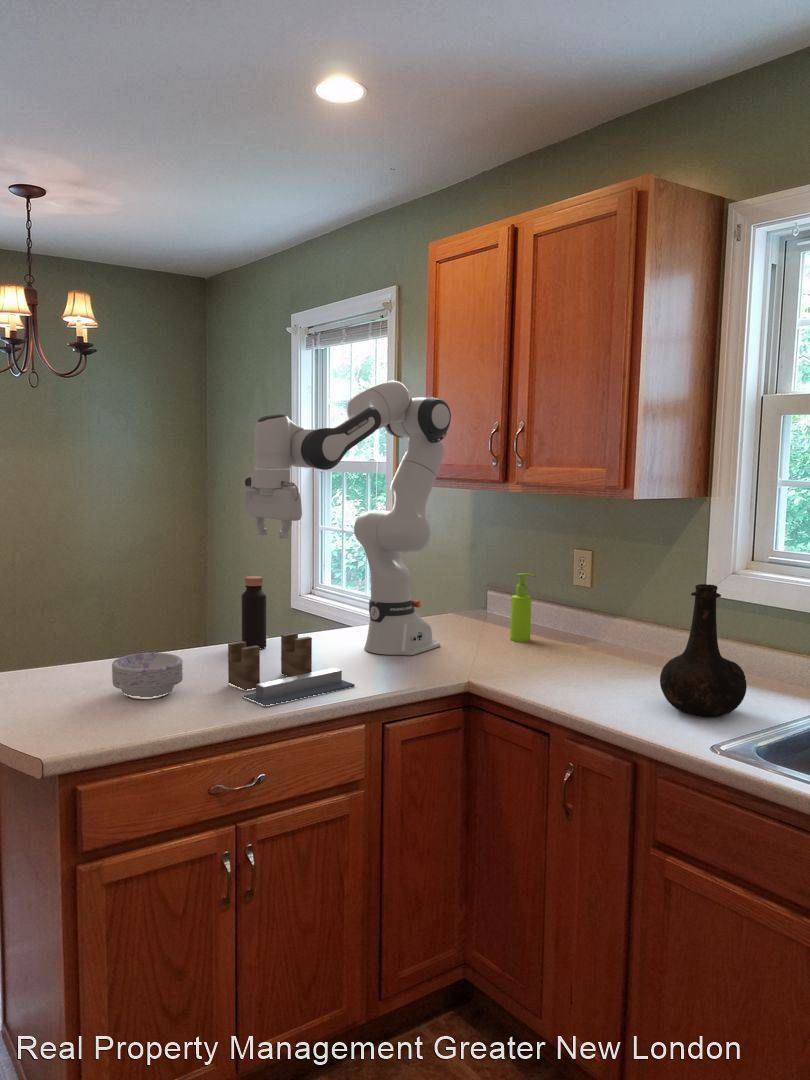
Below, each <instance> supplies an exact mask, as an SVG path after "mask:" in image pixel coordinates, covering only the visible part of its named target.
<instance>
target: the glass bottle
mask: <svg viewBox="0 0 810 1080" xmlns="http://www.w3.org/2000/svg"><path fill="white" fill-rule="evenodd" d="M694 586H695V591H693V592H691V593H690V596H692V597H694V606H693V613H692V620H691V625H690V631H689V637H688V640H687V644H686V646H685V649H684V650H683V652H682V653H681V654H679V655H677V656H675V657H673V658H671V659H669V661H667V662H666V663H665V665H663V667H662V669H661V672H660V677H659V685H660V689H661V692H662V693H663V696H664V698H665V699H666V701H667V702H668V703H669V704H670V705H671V706H672V707H673V708H675V709H676V710H677V711H678V712H679V711H680V713H683V714H686V715H689V716H691V717H699V718H706V719H707V718H708V719H709V718H710V719H711V718H720V717H725V716H726V715H729V714H730V713H733V712H734V711H735V710H736V709H737V708H738V707H739V706H740V705H741V704H742V703H743V700H744V699H745V696H746V693H747V679H746V675H745V671H744V670H743V669H742V667H741V666H740V665H739V664H737V663H736V662H734V661H732V660H729V659H727V658H724V657H723V656H722V654H721V652H720V649H719V643H718V630H717V629H718V628H717V627H718V626H717V598H721V597H722V594H720V593H718V591H717V590H718V588H719V587H718V585H715V584H705V583H703V584H701V583H700V584H697V585H694Z"/></svg>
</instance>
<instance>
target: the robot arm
mask: <svg viewBox="0 0 810 1080" xmlns="http://www.w3.org/2000/svg"><path fill="white" fill-rule="evenodd" d="M451 413H452V412H451V409H450V407H449V404H448V403H447V402H446V401H445V400H443V399H440V398H438V397H432V396H431V397H429V396H428V397H413V398H411V396H410V392H409V390H408V388H407V387H406V386H405V385H404V384H403V383H402V382H400V381H399V380H398V381H397V380H388V381H385V382H381V383H378V384H375V385H373V386H371V387H368V388H366V389H364V390H362V391H361V392H359V393H357V394H356V395H355V396H353V397H352V398H351V399H350V400H349V401H348V402H347V406H346V418H347V420H345V421H343V422H342V423H340V424H339V425H337V426H335V427H325V428H324V427H321V428H307V429H306V428H304V427H301V426H300V425H297V424H296V423H295V422H293V421H292V420H291V419H290V418H289V416H288V415H287V414H272V415H271V414H270V415H266V416H262V417H260V418H259V419H258V420H257V422H256V424H255V430H254V441H253V442H254V446H253V447H254V451H253V452H254V454H255V463H254V472H253V473H252V474H250V475H249V476H247V477H245V478H243V484H242V485H243V487H244V488H245V489H244V493H243V498H244V499H243V504H244V505H243V506H244V509H243V510H244V513H245V514H246V517H254V523H255V526H256V528H257V535H258V536H266V535H267V531H268V528H267V527H265V519H269V520H270V519H271V520H272V519H273V520H280V521H281V522H280V525H282V526H281V529H280V530H279V531H278V538H279V539H289V531H290V530H291V527H292V522H293V521H294V522H295V521H296V522H297V521H300V520H301V519H302V516H303V511H302V510H303V508H302V507H303V506H302V498H301V494H300V491H299V487H298V486H297V485H296V483H295V482H293V481H291V479H292V477H291V475H292V473H291V468H292V467H295V468H306V469H317V470H323V471H326V470H327V471H328V470H332V469H333V468H335V467H336V466H337V465H338V464H339V463H340V462H341V460H343V457H344V456H345V455H346V454H347V452H349V451H350V450H351V449H352V448H354V447H355V446H357V445H358V444H359V443H361V442H362V441H364V440H366V439H367V438H368V437H370V436H371V435H372V434H374V433H375V432H377V431H379V430H381V429H383V428H384V429H385V431H386V432H387V434H389V435H390V436H393V437H394V438H395V437H396V438H400V439H401V438H407V439H408V442H407V443H408V444H407V449H406V451H405V453H404V455H403V457H402V459H401V461H400V463H399V466H398V467H397V469H396V472H395V474H394V477H393V478H392V480H391V483H390V492H391V493H392V495H393V497H394V501H393V506H392V509H391V510H381V509H375V510H374V509H373V510H370V511H365V512H363V513H361V514H360V515H359V516H358V517H357V518H356V520H355V522H354V525H353V527H354V528H353V532H354V536H355V538H356V540H357V541H358V543H360V545H361V546H362V549H363V551H364V553H365V556H366V559H367V564H368V567H369V571H370V572H369V573H370V598H369V602H368V613H369V622H368V630H367V631H368V632H367V637H366V641H365V644H364V648H363V649H364V651H366V652H369V653H373V654H379V655H388V656H389V655H395V656H397V655H398V656H399V655H401V656H414V655H417V654H421V653H423V652H427V651H431V650H432V649H436V648H439V647H441V642H440V641H438V640H436V639H435V638H434V639H433V632H432V627H431V625H430V624H429V623H428V622H427V621H426V620H424V619H423V618H422V617H421V616H420V615H419V614H418V613H417V612H416V610H415V608H417V609H418V608H421V606H422V602H421V600H417V599H414V600H412V599H411V573H410V569H408V567H407V566H406V565H405V564H404V562H403V559H402V558H401V555H400V553H404V554H407V553H408V554H409V553H415V552H420V551H422V550H424V549H425V548H427V546H428V544H429V542H430V538H431V527H430V524H429V522H428V521H427V517H426V509H427V508H426V506H427V502H428V499H429V496H430V495H431V492H432V489H433V487H434V484H435V482H436V479H437V476H438V475H439V473H440V468H441V466H442V463H443V459H444V455H445V454H444V453H445V445H444V444H443V442H442V441H443V440H444V439H445V437H446V435H447V434H448V433H447V432H448V430H449V427H450V425H451V419H452V414H451Z"/></svg>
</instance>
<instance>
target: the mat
mask: <svg viewBox="0 0 810 1080" xmlns="http://www.w3.org/2000/svg"><path fill="white" fill-rule="evenodd" d="M354 686H355V687H356V685H355V683H352V682H350V681H346V680H343V679H342V683H338V684H334V685H329V686H325V687H320V688H316V689H312V690H307V691H303V692H298V693H294V694H290V695H285V696H281V697H276V698H272V699H268V700H261V699H259V698H256V692H253V693H249V694H244V695H242V697H243V696H244V697H246V698H249V699H251V700H254V701H256V702H258V703H261V704H263V705H265V706H266V705H270V704H276V703H281V702H286V701H291V700H295V699H300V698H304V697H308V696H313V695H317V696H319V695H318V694H321V695H323V694H322V693H326V694H328V693H327V692H330V693H333V692H332V691H334V692H337V691H336V690H339V691H342V690H341V689H343V690H346V689H345V688H347V689H350V688H349V687H351V688H354ZM313 697H314V696H313ZM304 699H305V698H304ZM300 700H301V699H300Z"/></svg>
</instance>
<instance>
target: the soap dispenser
mask: <svg viewBox="0 0 810 1080" xmlns="http://www.w3.org/2000/svg"><path fill="white" fill-rule="evenodd" d="M516 576H517V577H518V578H519V580H518V583H517V584H516V585H515V594H514V595H511V608H510V609H511V610H510V635H509V636H510V641H513V642H518V643H519V642H520V643H526V642H530V641H531V622H532V618H531V617H532V596H531V595H528V588H529V586H528V584H527V583H525V582H526V577H532V578H536V575H535V574H534V573H533V574H532V573H527V572H526V573H525V572H524V573H523V572H522V573H517V574H516Z"/></svg>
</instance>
